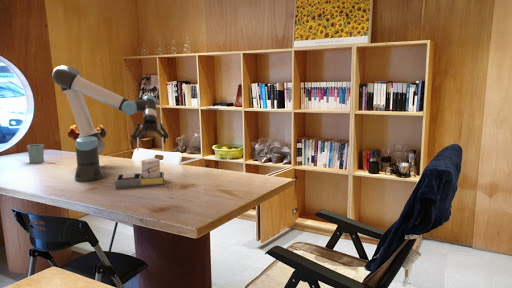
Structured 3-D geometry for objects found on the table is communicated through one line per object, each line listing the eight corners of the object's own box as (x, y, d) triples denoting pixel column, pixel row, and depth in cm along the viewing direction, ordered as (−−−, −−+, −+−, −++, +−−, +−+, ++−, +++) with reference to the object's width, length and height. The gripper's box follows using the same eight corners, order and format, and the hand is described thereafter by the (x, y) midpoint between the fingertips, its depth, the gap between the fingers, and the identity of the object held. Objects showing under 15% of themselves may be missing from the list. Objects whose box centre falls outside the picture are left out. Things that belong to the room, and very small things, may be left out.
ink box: (147, 183, 208) (146, 161, 206) (142, 181, 211) (141, 160, 209) (161, 180, 214) (160, 158, 212) (155, 178, 217) (154, 157, 215)
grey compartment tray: (115, 189, 201) (115, 179, 200) (118, 182, 215) (117, 173, 214) (164, 185, 207) (164, 176, 206) (163, 179, 221) (163, 170, 220)
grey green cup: (40, 160, 278) (39, 143, 277) (48, 162, 273) (46, 145, 271) (25, 162, 270) (24, 145, 268) (32, 164, 264) (31, 147, 263)
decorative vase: (114, 166, 254) (108, 123, 249) (75, 173, 241) (69, 128, 236) (106, 161, 271) (100, 121, 266) (69, 167, 258) (63, 125, 253)
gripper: (171, 121, 238) (173, 151, 227) (128, 122, 232) (127, 152, 221) (171, 114, 232) (173, 143, 220) (127, 114, 226) (126, 145, 214)
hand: (150, 148), depth 220 cm, fingers open, 13 cm apart
